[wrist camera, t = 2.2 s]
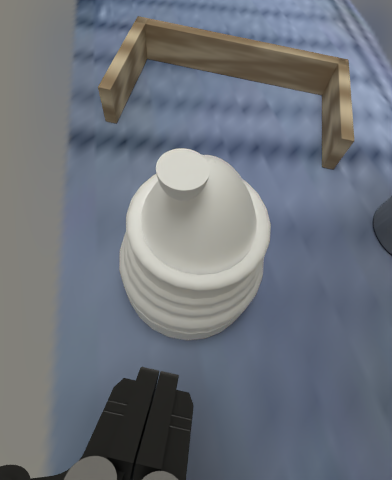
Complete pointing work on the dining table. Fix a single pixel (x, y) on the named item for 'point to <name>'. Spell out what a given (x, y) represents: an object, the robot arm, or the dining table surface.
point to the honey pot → (193, 246)
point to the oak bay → (235, 72)
